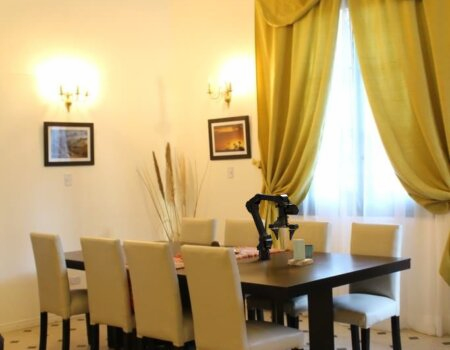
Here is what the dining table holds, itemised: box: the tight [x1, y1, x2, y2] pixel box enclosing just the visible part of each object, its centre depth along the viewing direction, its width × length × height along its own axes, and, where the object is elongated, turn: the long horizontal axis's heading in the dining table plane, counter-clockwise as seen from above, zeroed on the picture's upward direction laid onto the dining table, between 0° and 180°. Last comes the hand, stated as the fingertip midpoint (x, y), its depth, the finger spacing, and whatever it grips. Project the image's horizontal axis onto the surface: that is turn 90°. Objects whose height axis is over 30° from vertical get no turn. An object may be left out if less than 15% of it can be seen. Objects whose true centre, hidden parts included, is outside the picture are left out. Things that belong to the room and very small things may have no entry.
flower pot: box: [305, 244, 315, 259], centre depth 389 cm, size 9×9×9 cm
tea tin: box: [292, 238, 306, 260], centre depth 375 cm, size 5×5×12 cm
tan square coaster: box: [287, 258, 314, 267], centre depth 375 cm, size 11×11×3 cm
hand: (283, 240), depth 387 cm, fingers open, 9 cm apart
